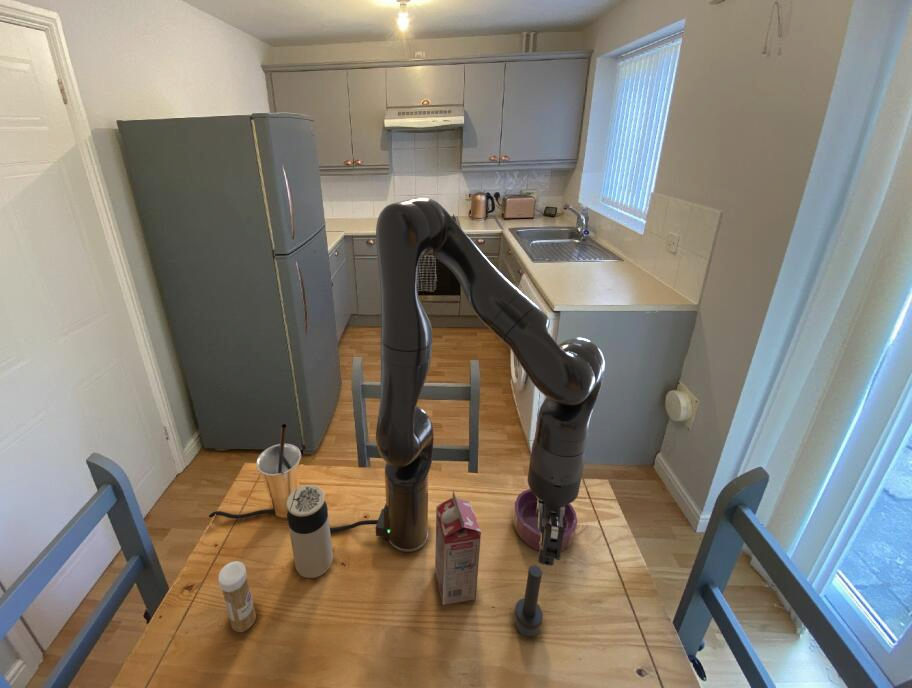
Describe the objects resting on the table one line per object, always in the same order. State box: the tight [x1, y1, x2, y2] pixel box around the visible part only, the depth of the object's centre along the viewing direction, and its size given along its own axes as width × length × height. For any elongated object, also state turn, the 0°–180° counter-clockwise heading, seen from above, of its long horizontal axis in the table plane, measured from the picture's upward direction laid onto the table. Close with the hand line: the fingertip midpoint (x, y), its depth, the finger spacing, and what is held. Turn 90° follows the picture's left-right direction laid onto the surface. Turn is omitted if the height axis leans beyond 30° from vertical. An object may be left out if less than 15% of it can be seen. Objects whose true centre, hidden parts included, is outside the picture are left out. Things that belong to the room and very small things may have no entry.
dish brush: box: [514, 564, 544, 638], centre depth 75 cm, size 5×5×15 cm
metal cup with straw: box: [256, 423, 302, 519], centre depth 97 cm, size 11×11×30 cm
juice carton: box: [434, 490, 482, 606], centre depth 81 cm, size 7×7×22 cm
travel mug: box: [286, 484, 334, 579], centre depth 87 cm, size 8×8×18 cm
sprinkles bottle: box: [217, 560, 257, 633], centre depth 77 cm, size 5×5×14 cm
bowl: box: [512, 488, 578, 552], centre depth 96 cm, size 13×13×5 cm
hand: (543, 538), depth 70 cm, fingers open, 8 cm apart
